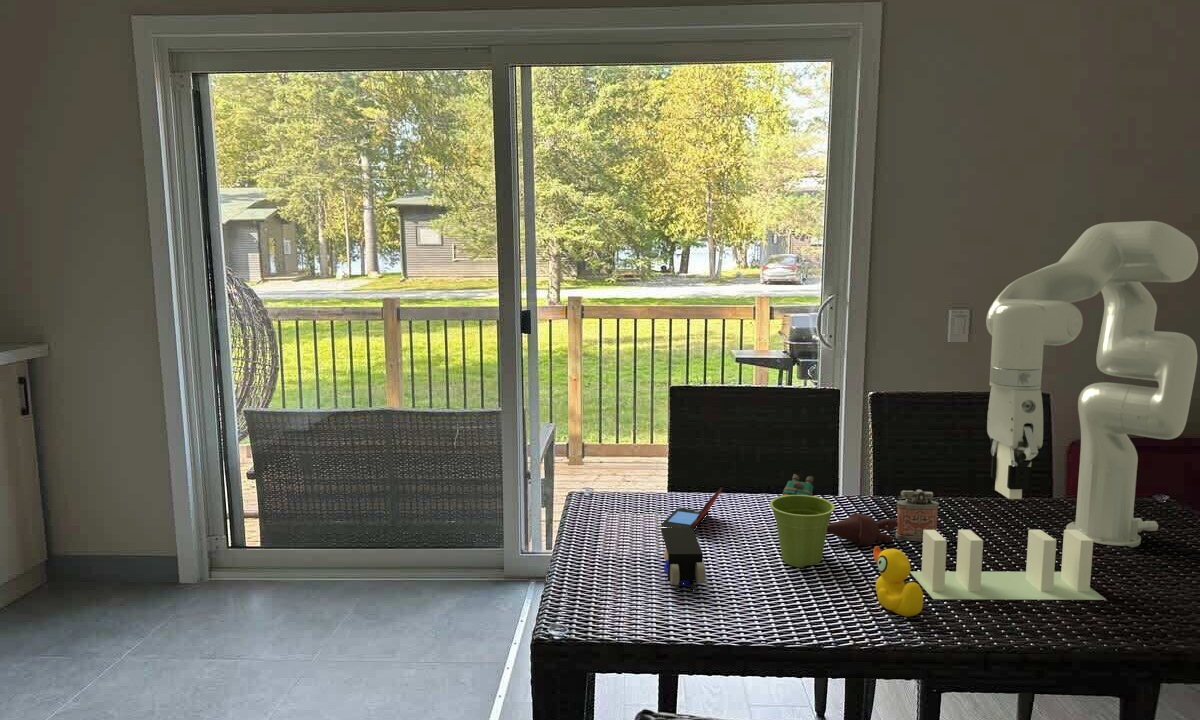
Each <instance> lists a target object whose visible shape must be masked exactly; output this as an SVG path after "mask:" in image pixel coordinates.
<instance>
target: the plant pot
mask: <svg viewBox="0 0 1200 720" xmlns="http://www.w3.org/2000/svg"><path fill="white" fill-rule="evenodd" d="M769 507H770V508H771V509H772V511H773V516H774V520H775V522H776V528H777V536H778V541H779V547H780V554H781V559H782V560H783V562H784V563H785V564H787V565H789V566H791V567H795V568H800V569H801V568H805V567H806V566H812V565H817V564H819V563H821V562H822V559H823V555H824V554H823V553H824V548H825V542H826V538H827V533H828V532H827V527H828V524H830V521H831V516H832V513H833V512H834V511H835V509H836V508H835V507H836V506H835V505H834V503H832V501H829V500H828V499H825V498H822V497H818V496H814V495H812V496H808V495H786V496H782V495H780V496H778V497H775V498H773V499H772V500H770V502H769Z"/></svg>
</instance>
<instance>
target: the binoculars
mask: <svg viewBox="0 0 1200 720" xmlns="http://www.w3.org/2000/svg"><path fill="white" fill-rule="evenodd" d="M813 482H814V476H813V475H811V476H810V475H809V476H807V477H806V479H805V482H803V481H800V475H797V474H795V473H793V475H792V478H791V480H788V481H787V483H786V485H785V487H784V489H783V492H782V494H781V496H786V495H808V496H813V490H814V485H813Z"/></svg>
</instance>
